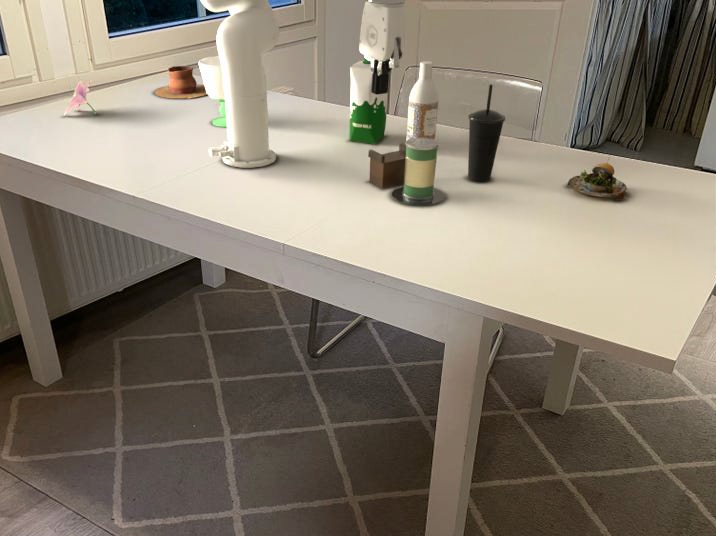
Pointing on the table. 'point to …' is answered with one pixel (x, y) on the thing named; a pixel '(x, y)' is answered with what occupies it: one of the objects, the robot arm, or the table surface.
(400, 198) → the coaster
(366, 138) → the milk carton
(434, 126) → the bath foam
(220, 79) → the cup
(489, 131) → the drinking cup
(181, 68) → the ceramic pot
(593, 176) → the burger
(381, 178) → the rest
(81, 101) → the lily
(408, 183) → the can
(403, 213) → the table surface
